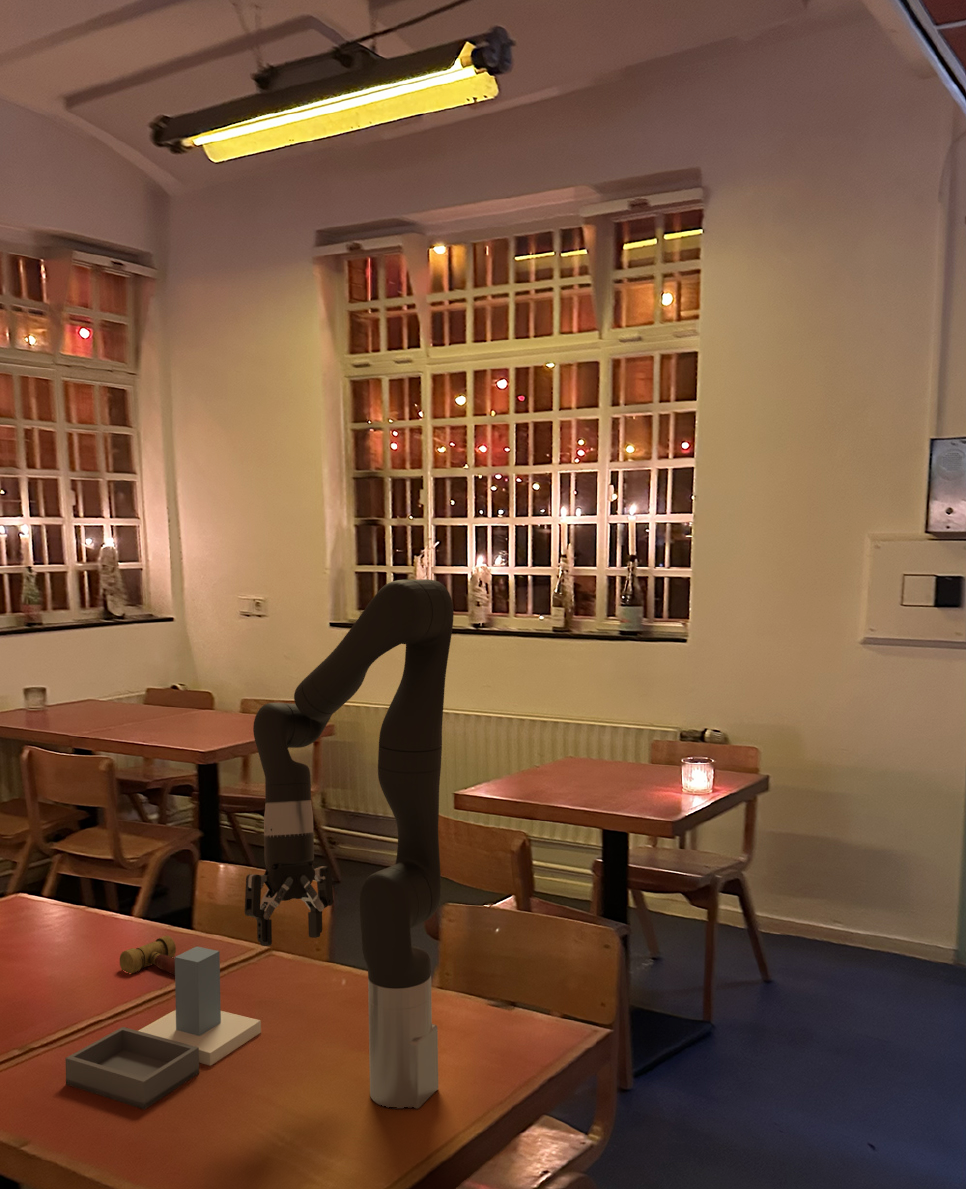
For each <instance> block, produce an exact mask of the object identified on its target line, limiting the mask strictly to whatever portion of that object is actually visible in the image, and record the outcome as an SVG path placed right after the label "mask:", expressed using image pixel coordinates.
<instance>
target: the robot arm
mask: <svg viewBox="0 0 966 1189" xmlns="http://www.w3.org/2000/svg"><path fill="white" fill-rule="evenodd" d="M454 613H455V612H454V603H453V599H452V596H451V594H450V592H449V590H448V588H447V587H446V586H445V585H444V584H443V583H441V582H440V581H438V580H436V579H435V580H434V579H426V578H425V579H397V580H394V581H390V582H389V583H386V584H384V585H383V586H382V587H381V588H380V589H379V590H378V591H377V592H376V594H375V595H374V596H373V597H372V598H371V600H370V601H369V602H368V604H367V606H365V609H364V610H362V613H360V615H359V617H358V618H357V620H356V621H355V623H354V624H353V625H352V626H351V628H349V630H348V632H347V633H346V635H344V637H343V638H342V639H341V640H340V642H339V643H338V645H337V646H336V647H335V648H334V649H333V651H331V652H330V653H329V655H328V656H326V658H325V659H324V660H323V661H321V662H320V663H319V664H318V665H317V666H316V667H315V668H314V669H313V670H312V671H311V672H310V673H309V674H308V675H307V676H306V677H305V678H304V679H303V680H302V681H301V682H299V684H298V685H297V686H296V689H295V690H294V694H293V700H294V703H292V702H291V703H287V702H286V703H285V702H284V703H283V702H269V703H266V704H263V705H262V706H261V707H260V708H259V709H258V710H257V712H256V715H255V717H254V721H253V725H252V726H253V728H252V730H253V738H254V742H255V746H256V750H257V753H258V757H259V761H260V763H261V767H262V771H263V774H264V783H265V784H264V786H265V788H264V791H265V794H264V795H265V798H264V800H265V806H264V816H263V839H264V840H263V841H264V842H263V843H264V844H263V845H264V846H263V848H264V855H263V856H264V863H265V864H264V865H265V871H264V873H263V874H259V873H258V874H256V873H255V874H247V875H246V878H245V894H244V915H245V916H248V917H251V918H254V919H256V929H257V930H256V935H257V936H256V939H257V942H259V944H260V946H263V947H268V946H272V943H273V937H272V936H273V934H272V933H273V932H272V930H273V928H272V927H273V926H272V925H273V924H272V923H273V922H272V919H271V917H272V914H273V913H274V911H275V910H276V908H277V907H279V905H280V904H281V902H282V901H283V902H284V901H285V902H286V901H291V900H292V899H293V900H301V901H302V902H304V904H305V906H307V908H308V910H309V911H310V912H309V911H308V913H307V920H308V922H307V923H308V924H307V925H308V937H309V938H312V939H316V938H320V936H321V934H322V932H323V911H324V909H326V908H327V907H329V906H330V907H331V906H333V905H334V892H333V891H334V889H333V877H332V869H331V867H330V866H326V865H325V866H317V867H316V868H314V865H313V864H314V863H313V862H314V859H315V847H314V846H315V844H314V842H315V841H314V813H313V808H312V807H313V806H312V801H311V800H312V784H311V782H312V781H311V779H312V778H311V770H310V768H309V766H308V765H306V764H304V763H302V762H298V761H295V760H294V759H293V758H292V756H291V754H290V751H289V749H292V748H293V749H294V748H295V749H296V748H297V749H299V748H305V747H308V746H309V745H312V744H313V743H314V742H316V741H317V740H319V738H320V737H321V735H322V733H323V732H324V730H325V728H326V727H327V725H328V723H329V721H330V720H331V717H332V716H333V714H334V713H336V712H337V711H338V710H339V709H340V708H341V707H342V706H344V705H345V704H346V703H347V702H348V701H349V700H351V698H353V697H354V695H355V694H356V693H357V692H358V690H359V689H360V687H361V686H362V685H363V683H364V680H365V677H366V675H367V674H368V673H367V672H368V670H369V668H370V667H371V665H373V663H374V662H376V661H377V660H378V659H379V658H380V657H381V656H383V655H384V654H386V653H387V652H390V650H392V649H394V648H396V647H397V646H399V645H405V654H404V655H405V657H404V667H403V672H402V676H401V680H400V682H399V684H398V688H397V689H396V691H395V693H394V696H393V698H392V701H391V702H390V704H389V707H388V709H387V711H386V713H385V715H384V718H383V721H382V723H381V727H380V730H379V739H378V756H377V758H378V759H377V776H378V782H379V785H380V788H381V791H382V793H383V796H384V797H385V800H386V801H387V804H388V805H389V808H390V810H391V813H392V814H393V817H394V819H395V823H396V827H397V828H396V829H397V851H396V859H395V864H393V865H390V866H388V867H386V868H383V869H381V870H378V871H375V872H374V873H371V874H370V875H368V876H367V877H366V879H365V880H364V882H363V884H362V886H361V889H360V894H359V922H360V935H361V936H360V937H361V950H362V956H363V959H364V962H365V964H366V968H367V983H368V984H367V986H368V988H367V991H368V997H367V998H368V1001H367V1002H368V1003H367V1004H368V1038H369V1039H368V1051H369V1054H368V1056H369V1057H368V1058H369V1060H368V1061H369V1062H368V1063H369V1064H368V1065H369V1066H368V1068H369V1096H370V1099H371V1100H372V1101H373V1102H374V1103H375V1104H377V1105H379V1106H381V1105H382V1107H384V1106H386V1108H389V1107H397V1108H396V1109H405V1108H404V1107H408V1108H412V1107H414V1108H413V1109H420V1107H422V1105H424V1104H425V1103H426V1102H427V1100H429V1098H431V1096H433V1095H434V1094H435V1093H436V1092H437V1090H439V1048H438V1047H439V1040H438V1039H439V1038H438V1037H439V1036H438V1032H439V1031H438V1029H439V1028H438V1025H437V1024H434V1023H433V1021H432V1020H433V1017H432V1014H433V1013H432V1009H433V1008H432V1003H433V1002H432V961H431V960H432V959H431V956H430V955H429V953H428V951H426V950H424V949H423V948H421V947H418V946H413V945H412V944H413V943H412V936H411V935H412V932H411V929H412V928H414V927H416V926H418V925H420V924H423V923H424V922H427V921H428V920H429V919H431V918H432V917H433V916H434V915H435V913H436V912H437V910H438V908H439V905H440V901H441V895H442V894H441V893H442V892H441V891H442V876H441V875H442V874H441V863H440V862H441V859H440V844H439V839H440V838H439V837H440V836H439V818H440V815H439V814H440V813H439V811H440V784H441V782H440V781H441V770H442V755H443V754H442V751H443V747H442V746H443V717H444V716H443V715H444V706H445V703H444V701H445V690H446V689H445V687H446V675H447V668H448V667H447V666H448V660H449V652H450V647H451V641H452V640H451V639H452V636H453V635H452V634H453V625H454V617H455V616H454ZM314 880H315V881H316V886H317V891H316V889H315V887H313V885H312V883H313V881H314ZM264 885H265V886H266V888H267V890H266V892H265V893H264V895H263V896H262V898H261V894H262V889H263V888H264Z"/></svg>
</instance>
